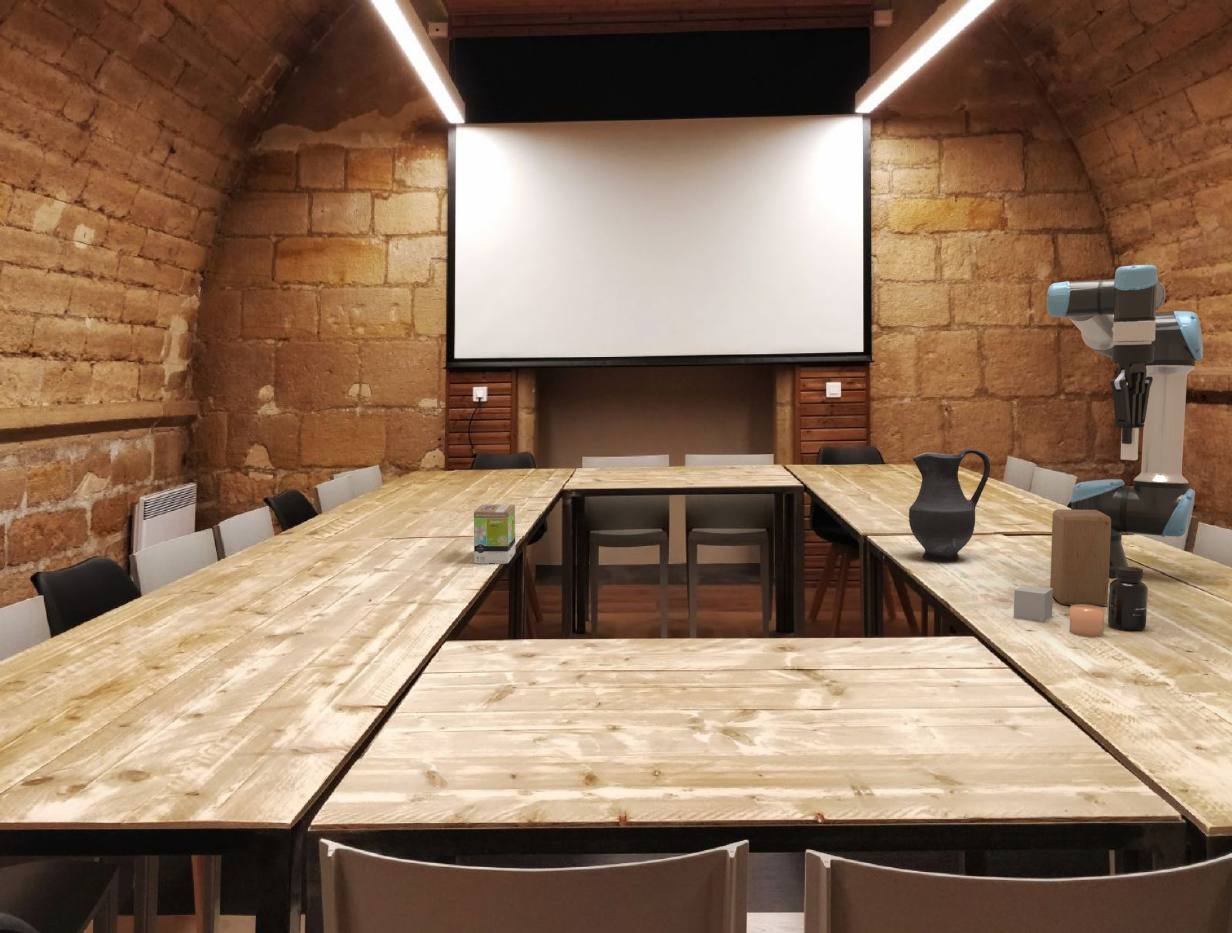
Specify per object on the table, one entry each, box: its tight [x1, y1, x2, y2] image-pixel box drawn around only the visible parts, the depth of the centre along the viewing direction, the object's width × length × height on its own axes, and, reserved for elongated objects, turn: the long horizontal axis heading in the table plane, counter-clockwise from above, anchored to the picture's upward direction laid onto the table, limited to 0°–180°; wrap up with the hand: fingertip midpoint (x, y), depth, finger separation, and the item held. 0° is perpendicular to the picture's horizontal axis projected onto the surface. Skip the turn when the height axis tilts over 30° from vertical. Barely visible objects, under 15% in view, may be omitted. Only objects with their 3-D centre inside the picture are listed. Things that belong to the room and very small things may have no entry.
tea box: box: [473, 504, 516, 565], centre depth 271 cm, size 15×10×15 cm
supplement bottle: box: [1107, 565, 1149, 632], centre depth 193 cm, size 7×7×12 cm
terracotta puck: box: [1069, 604, 1105, 638], centre depth 190 cm, size 6×6×5 cm
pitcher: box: [908, 448, 991, 563], centre depth 261 cm, size 17×21×30 cm
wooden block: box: [1049, 508, 1111, 607], centre depth 214 cm, size 10×10×20 cm
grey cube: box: [1013, 584, 1054, 623], centre depth 202 cm, size 6×6×6 cm
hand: (1129, 459), depth 197 cm, fingers closed
